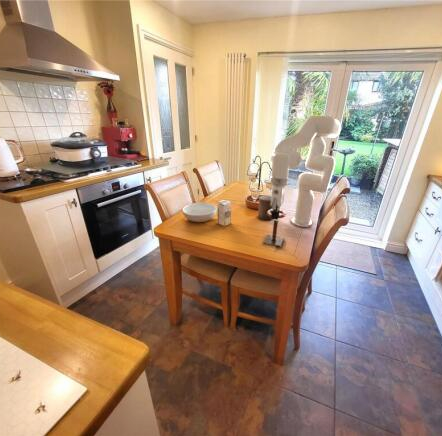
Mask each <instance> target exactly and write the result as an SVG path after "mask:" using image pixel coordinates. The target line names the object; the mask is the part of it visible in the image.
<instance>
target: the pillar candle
mask: <svg viewBox="0 0 442 436" xmlns="http://www.w3.org/2000/svg"><path fill="white" fill-rule="evenodd" d="M272 207H273V205H272V206H271V195H268V194H263V195H260V196H259V199H258V209H257V210H258V212H257V218H258V219H260V220H262V221H265V222H266V221H267V222H268V221H271V220H273V219H272V218H271V217H270V216H268V214H267V212H268V210H271V209H272ZM271 214H272V213H271Z"/></svg>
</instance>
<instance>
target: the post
mask: <svg viewBox="0 0 442 436" xmlns="http://www.w3.org/2000/svg"><path fill="white" fill-rule="evenodd" d="M278 224H279V218H278V219H273V226H272V235H270V234H269V235H268V234H267V235H266V236H265V239H264V241H263V245H267V246H268V245H269V246H274V247H275V248H278V249H281V248H282V246H283V242H284V237H280V236H277V234H278V233H277V232H278Z"/></svg>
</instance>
